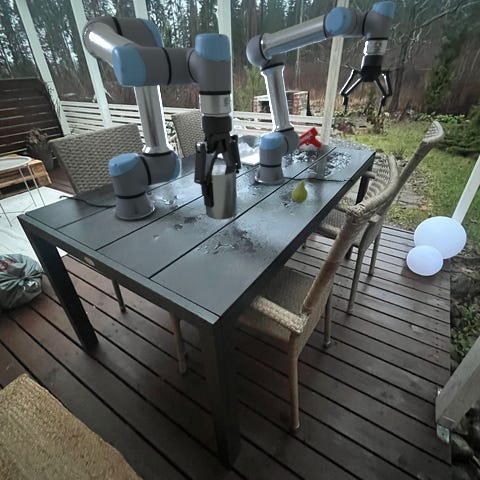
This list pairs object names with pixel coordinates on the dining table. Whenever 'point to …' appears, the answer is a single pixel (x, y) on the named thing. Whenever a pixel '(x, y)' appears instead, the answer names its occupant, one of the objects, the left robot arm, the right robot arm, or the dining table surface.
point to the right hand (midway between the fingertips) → (361, 114)
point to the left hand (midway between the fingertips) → (220, 200)
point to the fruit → (300, 192)
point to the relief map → (247, 154)
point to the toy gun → (310, 138)
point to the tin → (223, 192)
